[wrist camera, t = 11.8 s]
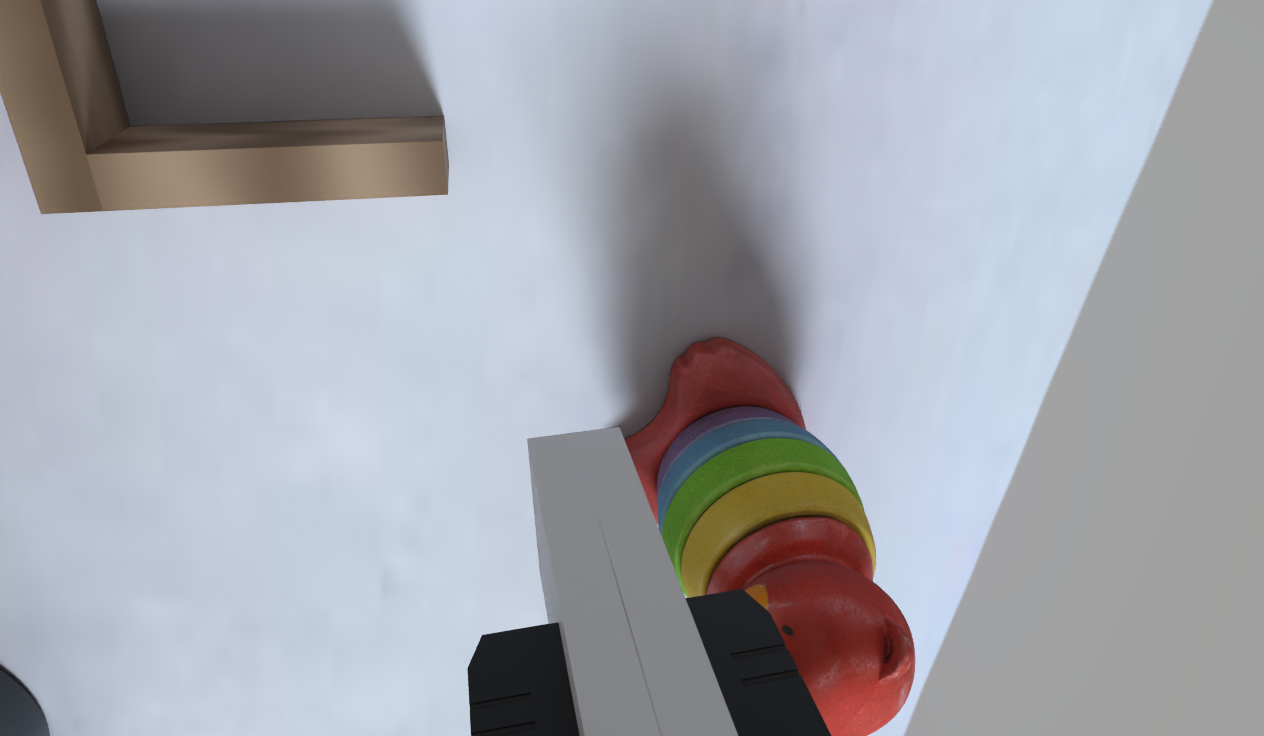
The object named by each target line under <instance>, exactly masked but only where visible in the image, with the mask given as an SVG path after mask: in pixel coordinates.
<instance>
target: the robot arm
mask: <svg viewBox="0 0 1264 736" xmlns="http://www.w3.org/2000/svg"><path fill="white" fill-rule="evenodd" d="M527 441H528V451H529V462H530V473H531V483H532V494H533V505H534V515H535V526H536V536H537V547H538V558H539V568H540V576H541V581H542V587H543V593H544V599H545V604H546V610H547V616H548V622H549V624H545V625H539V626H533V627H527V628H521V629H515V630H510V631H504V632H498V633H492V634H486V635H482V637H481V639H480V641H479V644H478V646H477V648H476V650H475V653H474V655H473V657H472V659H471V662H470V664H469V666H468V685H469V704H470V723H471V736H831V734H830V732H829V730H828V728H827V726H826V724H825V722H824V720H823V718H822V716H821V714H820V712H819V710H818V708H817V706H816V704H815V702H814V700H813V698H812V696H811V694H810V692H809V690H808V688H807V686H806V684H805V682H804V680H803V678H802V676H801V675H799V673H798V668H797V666H796V664H795V662H794V660H793V658H792V656H791V654H790V652H789V650H787V649H786V646H785V642H784V640H783V638H782V636H781V634H780V632H779V630H778V628H777V626H776V624H775V622H774V620H773V618H772V616H771V614H770V612H769V611H767V610H766V609H765V608H764V607H763V606H762V605H760V604H759V603H758V602H757V601H756V600H755V599H754V598H752V597H751V596H750V595H749V594H748V593H747V592H745V591H744V590H743V589H738V590H732V591H726V592H720V593H714V594H708V595H702V596H696V597H691V598H685V596H684V593H683V591H682V588H681V586H680V583H679V580H678V578H677V575H676V573H675V570H674V567H673V565H672V562H671V560H670V557H669V554H668V552H667V549H666V547H665V544H664V541H663V539H662V536H661V534H660V531H659V528H658V526H657V523H656V520H655V518H654V515H653V513H652V510H651V507H650V505H649V502H648V500H647V497H646V494H645V492H644V489H643V487H642V484H641V481H640V479H639V476H638V474H637V471H636V468H635V466H634V463H633V461H632V458H631V455H630V453H629V450H628V448H627V445H626V442H625V440H624V437H623V435H622V432H621V429H620V427H614V428H606V429H598V430H591V431H583V432H576V433H568V434H560V435H553V436H545V437H537V438H530V439H527ZM0 736H50V734H49V729H48V726H47V723H46V720H45V718H44V716H43V714H42V712H41V710H40V708H39V707H38V705H37V704H36V702H35V701H34V700H33V699H32V697H31V696H30V695H29V694H28V693H27V692H26V691H25V690H24V688H22V687H21V686H20V685H19V684H18V683H17V682H16V681H15V680H13V679H12V678H11V677H10V676H8V675H7V674H6V673H4V672H3V671H1V670H0Z"/></svg>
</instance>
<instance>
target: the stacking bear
mask: <svg viewBox="0 0 1264 736" xmlns="http://www.w3.org/2000/svg"><path fill="white" fill-rule="evenodd" d="M625 442H626V445H627V448H628V450H629V453H630V455H631V458H632V461H633V463H634V466H635V468H636V471H637V474H638V476H639V479H640V481H641V484H642V487H643V489H644V492H645V494H646V497H647V500H648V502H649V505H650V507H651V510H652V513H653V515H654V518H655V520H656V523H657V524H658V526H659V531H660V534H661V536H662V539H663V541H664V544H665V547H666V549H667V552H668V554H669V557H670V560H671V562H672V565H673V567H674V570H675V573H676V575H677V578H678V580H679V583H680V586H681V588H682V591H683V592H684V594H685V595H686V596H687V597H688V598H691V597H696V596H702V595H708V594H714V593H720V592H726V591H732V590H738V589H743V590H744V591H745V592H747V593H748V594H749V595H750V596H751V597H752V598H754V599H755V600H756V601H757V602H758V603H759V604H760V605H762V606H763V607H764V608H765V609H766V610H767V611H769V612H770V614H771V616H772V618H773V620H774V622H775V624H776V626H777V628H778V630H779V632H780V634H781V636H782V638H783V640H784V642H785V646H786V649H787V650H789V652H790V654H791V656H792V658H793V660H794V662H795V664H796V666H797V668H798V673H799V675H801V676H802V678H803V680H804V682H805V684H806V686H807V688H808V690H809V692H810V694H811V696H812V698H813V700H814V702H815V704H816V706H817V708H818V710H819V712H820V714H821V716H822V718H823V720H824V722H825V724H826V726H827V728H828V730H829V732H830V734H831V736H867V735H869V734H871V733H873V732H875V731H877V730H878V729H880V728H881V727H883V726H884V725H886V724H887V723H888V722H889V721H890V720H891V719H893V717H894V716H895V715H896V714H897V713H898V712H899V711H900V709H901V708H902V706H903V705H904V703H905V702H906V700H907V697H908V695H909V692H910V690H911V686H912V683H913V679H914V672H915V649H914V643H913V638H912V634H911V631H910V628H909V626H908V624H907V622H906V619H905V617H904V616H903V614H902V612H901V611H900V609H899V608H898V606H897V605H896V604H895V602H894V601H893V600H892V599H891V598H890V596H889V595H888V594H886V593H885V592H884V591H883V590H882V589H881V588H880V587H879V586H878V585H876V584H875V583H874V582H873V577H874V572H875V567H876V549H875V543H874V539H873V535H872V532H871V529H870V525H869V523H868V520H867V517H866V515H865V512H864V508H863V504H862V501H861V499H860V497H859V494H858V492H857V490H856V487H855V485H854V483H853V481H852V480H851V478H850V476H849V474H848V473H847V471H846V470H845V468H844V467H843V466H842V464H841V463H840V462H839V460H838V459H837V457H836V456H835V455H834V454H833V453H832V452H831V451H830V450H829V449H828V448H827V447H826V446H825V445H824V444H823V443H822V442H821V441H820V440H818V439H817V438H816V437H815V436H813V435H812V434H811V433H809V432H808V431H806V428H805V424H804V420H803V417H802V414H801V411H800V409H799V407H798V404H797V402H796V400H795V398H794V396H793V395H792V393H791V391H790V390H789V388H788V386H787V385H786V384H785V382H784V381H783V380H782V378H781V377H780V376H779V375H778V374H777V373H776V371H775V370H774V369H773V368H772V367H771V366H770V365H768V364H767V363H766V362H765V361H764V360H763V359H761V358H760V357H759V356H758V355H756V354H755V353H753V352H752V351H750V350H748V349H747V348H745V347H743V346H741V345H739V344H737V343H735V342H733V341H730V340H727V339H724V338H718V337H717V338H712V339H710V340H708V341H706V342H697V343H694V344H692V345H691V346H689V347H688V349H687V350H686V352H685V353H684V354H683V355H682V356H680V357H679V358H678V359H677V360H676V361H675V363H674V364H673V366H672V369H671V373H670V383H669V391H668V394H667V398H666V400H665V403H664V405H663V407H662V409H661V410H660V412H659V413H658V415H657V416H656V417H655V418H654V419H653V421H652V422H651V423H650V424H649V425H648V426H647V427H646V428H644V429H643V430H642V431H640V432H638V433H636V434H635V435H633V436H631V437H629V438H627V439H625Z"/></svg>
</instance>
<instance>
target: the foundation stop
mask: <svg viewBox="0 0 1264 736" xmlns="http://www.w3.org/2000/svg"><path fill="white" fill-rule="evenodd" d="M0 92H1V95H2V98H3V101H4V104H5V107H6V110H7V113H8V116H9V119H10V122H11V125H12V128H13V131H14V134H15V137H16V140H17V143H18V146H19V149H20V152H21V155H22V158H23V161H24V164H25V167H26V170H27V173H28V176H29V179H30V182H31V185H32V188H33V191H34V194H35V197H36V200H37V203H38V206H39V209H40V212H41V214H52V213H73V212H94V211H115V210H136V209H157V208H177V207H198V206H219V205H240V204H261V203H282V202H303V201H324V200H344V199H365V198H386V197H407V196H428V195H448V174H449V161H448V151H447V141H446V131H445V120H444V116H426V117H396V118H366V119H336V120H306V121H276V122H247V123H217V124H187V125H157V126H130V125H129V121H128V117H127V114H126V110H125V106H124V102H123V99H122V95H121V91H120V88H119V84H118V80H117V77H116V73H115V69H114V65H113V62H112V58H111V54H110V51H109V47H108V43H107V40H106V36H105V32H104V28H103V25H102V21H101V17H100V14H99V10H98V6H97V3H96V0H0Z"/></svg>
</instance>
